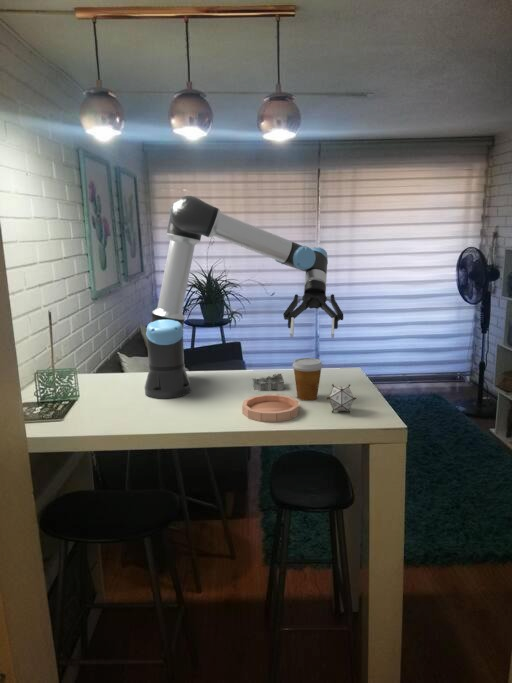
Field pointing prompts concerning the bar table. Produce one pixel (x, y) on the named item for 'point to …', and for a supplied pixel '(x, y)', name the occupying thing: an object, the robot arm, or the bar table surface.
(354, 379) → the bar table surface
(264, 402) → the terracotta bowl
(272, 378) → the egg carton
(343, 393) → the game die
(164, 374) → the robot arm
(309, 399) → the disposable coffee cup
